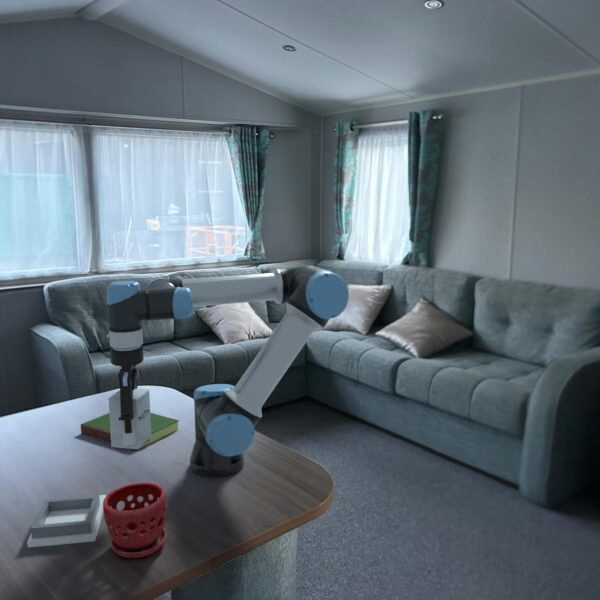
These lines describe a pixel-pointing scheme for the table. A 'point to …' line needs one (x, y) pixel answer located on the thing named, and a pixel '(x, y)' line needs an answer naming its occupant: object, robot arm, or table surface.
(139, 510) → the plant pot
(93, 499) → the plate
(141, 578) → the table surface
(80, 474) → the table surface
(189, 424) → the table surface
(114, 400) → the supplement box
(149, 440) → the hardcover book
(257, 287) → the robot arm
